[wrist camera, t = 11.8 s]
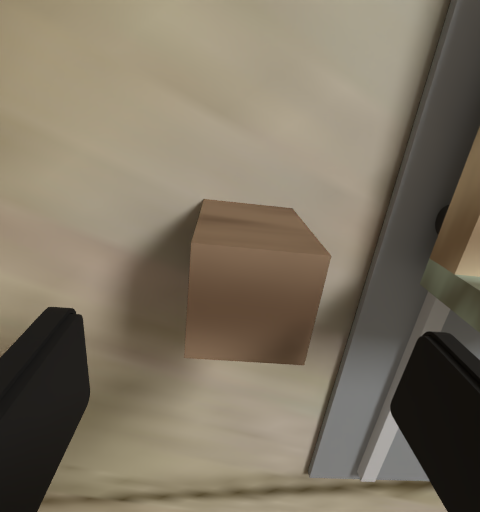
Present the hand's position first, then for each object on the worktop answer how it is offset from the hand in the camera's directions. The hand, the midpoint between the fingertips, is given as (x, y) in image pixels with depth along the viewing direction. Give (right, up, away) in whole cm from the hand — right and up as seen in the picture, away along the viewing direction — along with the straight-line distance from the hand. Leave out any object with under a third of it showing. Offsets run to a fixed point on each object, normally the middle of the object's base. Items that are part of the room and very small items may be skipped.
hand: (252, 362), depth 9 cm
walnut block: (0, +4, +10) cm, 10 cm away
